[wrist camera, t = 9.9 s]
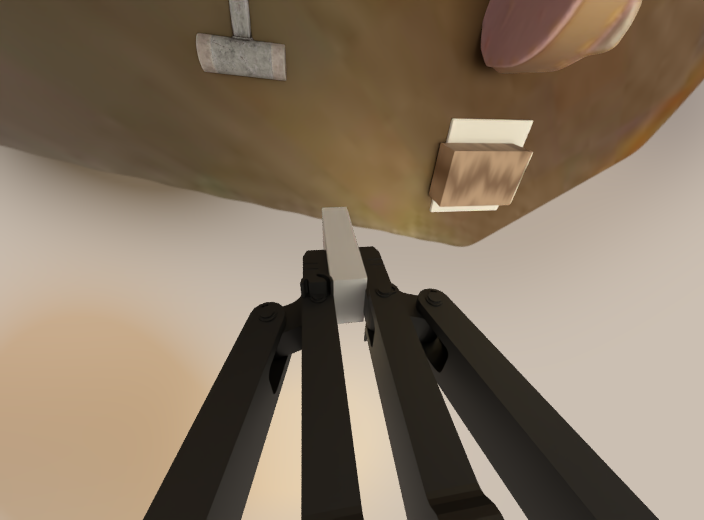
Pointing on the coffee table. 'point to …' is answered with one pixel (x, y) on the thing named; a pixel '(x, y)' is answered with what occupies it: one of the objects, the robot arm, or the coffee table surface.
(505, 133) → the felt mat
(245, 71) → the rubber mallet
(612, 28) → the face sculpture
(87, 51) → the coffee table surface
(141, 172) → the coffee table surface
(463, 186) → the wooden block
